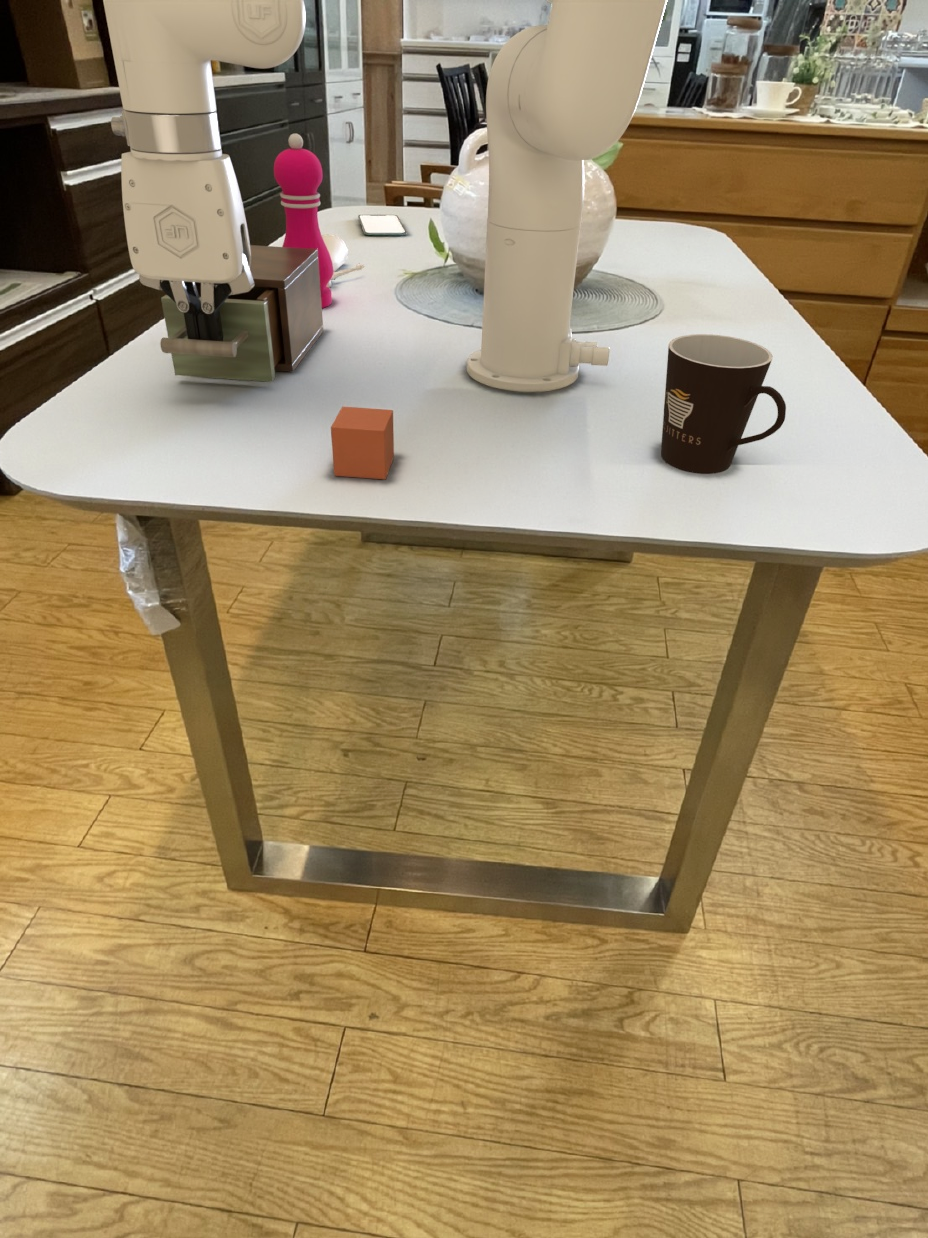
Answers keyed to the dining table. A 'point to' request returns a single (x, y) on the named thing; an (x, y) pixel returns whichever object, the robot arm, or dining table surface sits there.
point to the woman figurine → (338, 255)
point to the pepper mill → (303, 206)
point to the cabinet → (292, 296)
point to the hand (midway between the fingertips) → (207, 350)
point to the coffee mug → (712, 400)
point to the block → (363, 442)
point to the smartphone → (381, 225)
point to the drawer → (229, 338)
